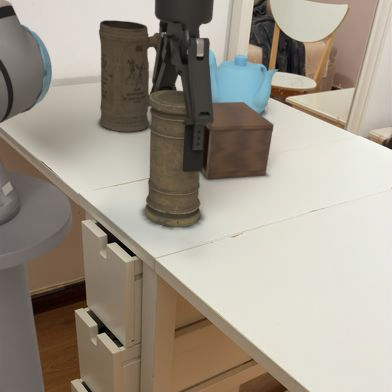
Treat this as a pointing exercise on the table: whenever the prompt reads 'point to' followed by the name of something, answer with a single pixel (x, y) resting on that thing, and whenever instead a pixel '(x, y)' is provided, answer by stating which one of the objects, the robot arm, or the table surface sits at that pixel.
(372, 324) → the table surface
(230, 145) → the shelf
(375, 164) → the table surface
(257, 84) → the teapot
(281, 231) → the table surface
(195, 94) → the robot arm
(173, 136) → the container
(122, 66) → the beer stein
